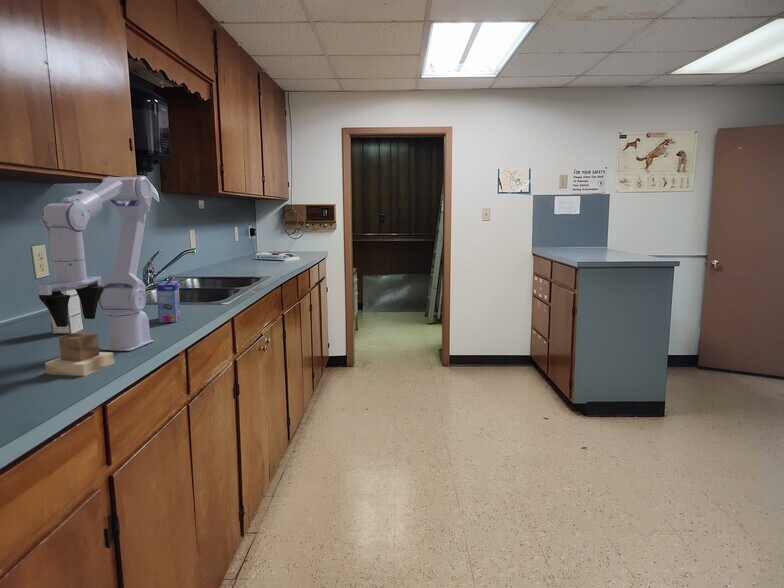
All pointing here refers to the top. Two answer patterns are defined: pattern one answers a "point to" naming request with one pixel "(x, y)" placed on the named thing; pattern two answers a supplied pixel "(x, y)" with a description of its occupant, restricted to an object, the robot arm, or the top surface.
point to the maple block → (79, 365)
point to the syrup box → (70, 315)
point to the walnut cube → (79, 346)
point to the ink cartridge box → (168, 301)
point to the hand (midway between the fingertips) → (76, 322)
